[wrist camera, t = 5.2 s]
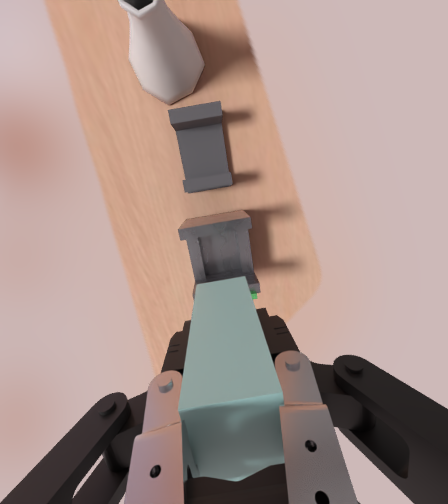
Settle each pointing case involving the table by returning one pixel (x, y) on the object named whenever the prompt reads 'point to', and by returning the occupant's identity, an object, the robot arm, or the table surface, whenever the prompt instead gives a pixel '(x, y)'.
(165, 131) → the table surface
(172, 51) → the flask
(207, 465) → the plug
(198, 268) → the port
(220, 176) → the grey ridged tray
